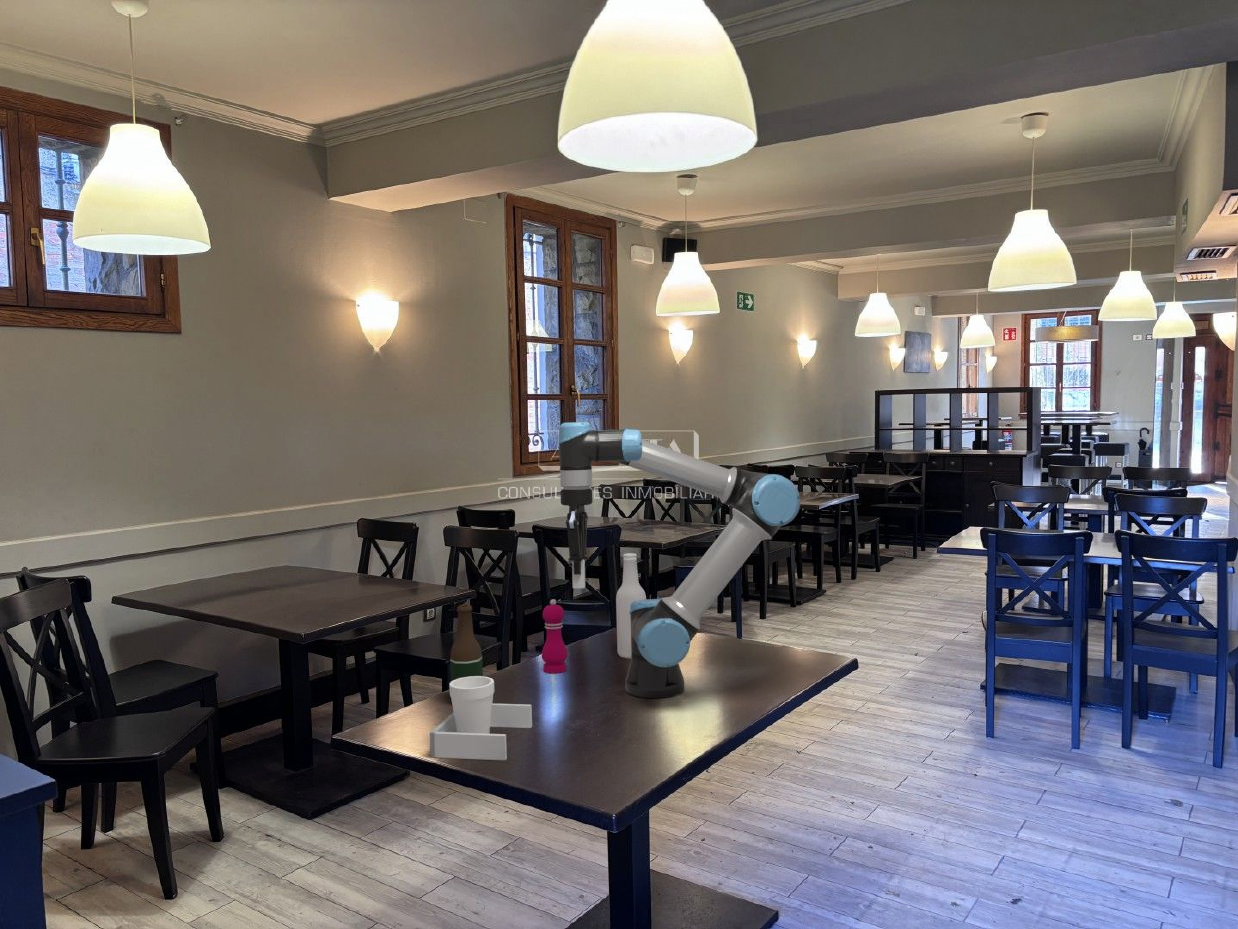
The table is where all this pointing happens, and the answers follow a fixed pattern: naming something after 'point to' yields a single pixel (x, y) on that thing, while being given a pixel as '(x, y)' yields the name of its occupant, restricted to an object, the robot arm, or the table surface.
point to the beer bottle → (465, 648)
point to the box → (479, 735)
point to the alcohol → (627, 603)
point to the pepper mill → (554, 639)
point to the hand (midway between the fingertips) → (579, 587)
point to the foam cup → (472, 703)
